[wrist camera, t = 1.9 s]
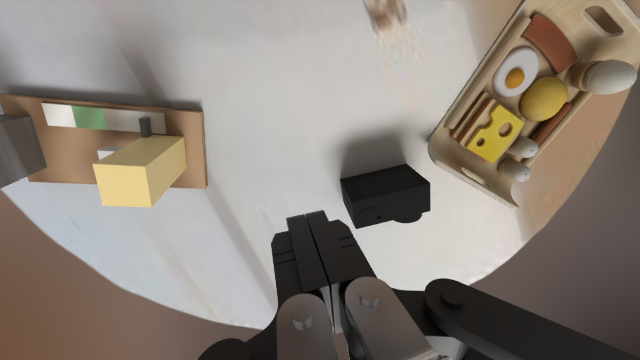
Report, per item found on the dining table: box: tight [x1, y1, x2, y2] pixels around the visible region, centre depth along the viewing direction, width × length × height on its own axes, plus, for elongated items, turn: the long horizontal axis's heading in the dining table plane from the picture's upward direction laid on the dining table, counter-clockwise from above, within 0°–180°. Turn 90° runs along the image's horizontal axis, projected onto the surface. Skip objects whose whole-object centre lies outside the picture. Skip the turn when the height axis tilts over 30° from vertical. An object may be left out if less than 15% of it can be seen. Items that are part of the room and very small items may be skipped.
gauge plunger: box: [93, 117, 187, 207], centre depth 27 cm, size 8×6×10 cm
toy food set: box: [428, 0, 640, 211], centre depth 34 cm, size 25×18×8 cm
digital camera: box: [340, 164, 430, 229], centre depth 37 cm, size 10×5×7 cm, turn 101°
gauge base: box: [0, 94, 208, 189], centre depth 29 cm, size 20×10×7 cm, turn 83°
